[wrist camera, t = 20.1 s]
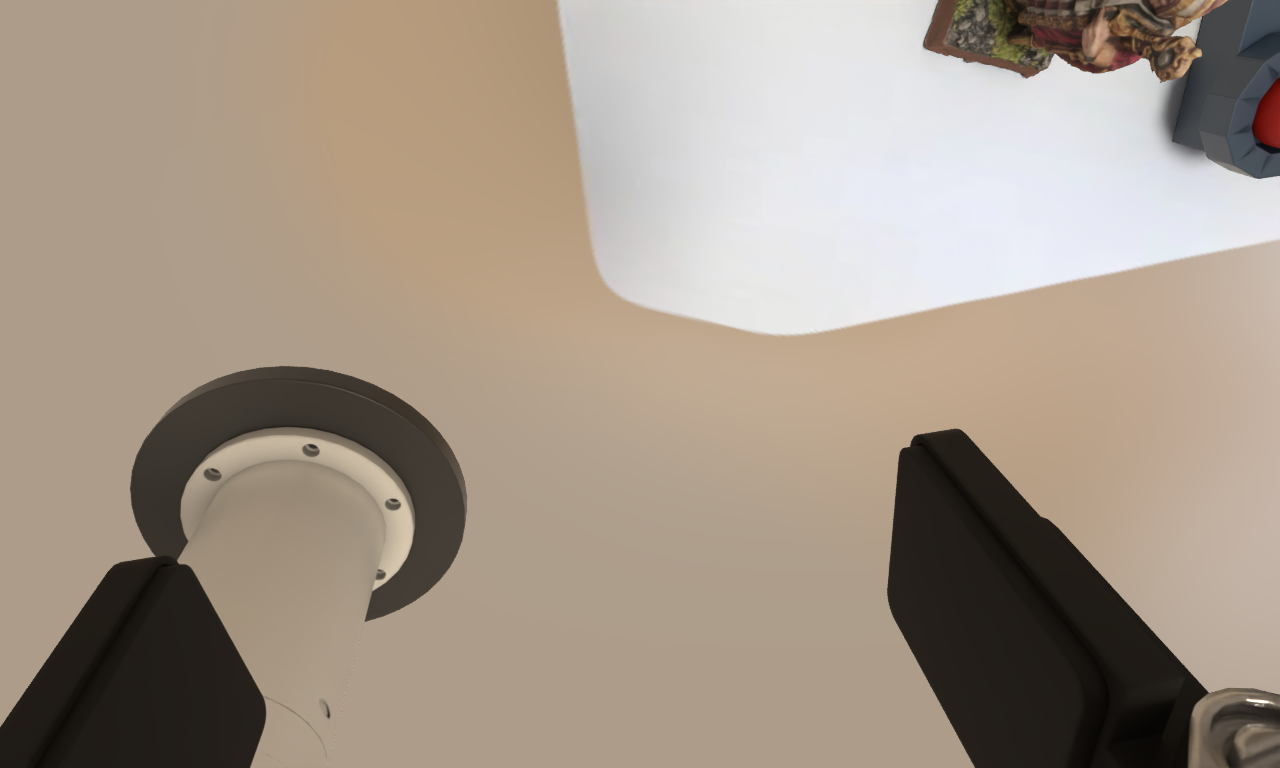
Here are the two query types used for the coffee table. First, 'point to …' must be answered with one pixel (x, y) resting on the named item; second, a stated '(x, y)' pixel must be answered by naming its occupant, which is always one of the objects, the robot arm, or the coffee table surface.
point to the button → (1268, 117)
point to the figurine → (1068, 33)
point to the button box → (1232, 86)
